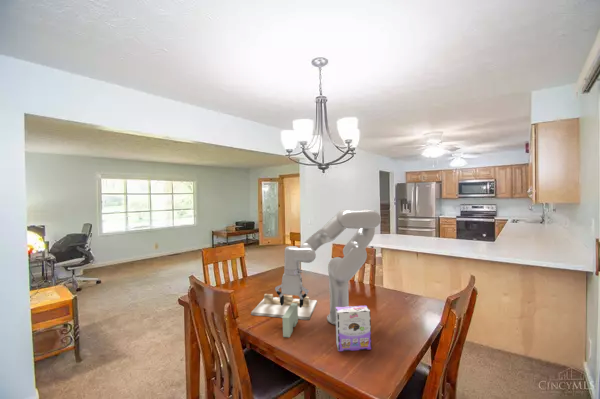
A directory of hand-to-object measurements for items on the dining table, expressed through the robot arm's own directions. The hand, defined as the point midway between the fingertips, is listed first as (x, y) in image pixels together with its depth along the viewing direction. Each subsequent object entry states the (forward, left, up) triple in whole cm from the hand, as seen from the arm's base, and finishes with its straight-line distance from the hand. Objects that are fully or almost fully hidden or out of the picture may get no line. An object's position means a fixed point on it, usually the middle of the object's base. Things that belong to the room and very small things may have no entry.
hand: (291, 305), depth 137 cm
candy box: (-31, +15, -9) cm, 36 cm away
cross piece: (-1, +5, -9) cm, 10 cm away
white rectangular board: (+8, -16, -9) cm, 20 cm away
